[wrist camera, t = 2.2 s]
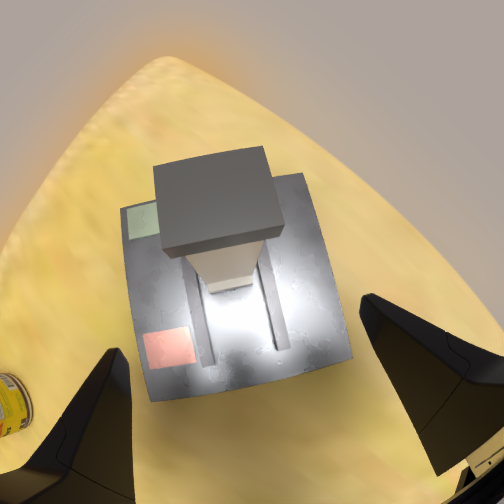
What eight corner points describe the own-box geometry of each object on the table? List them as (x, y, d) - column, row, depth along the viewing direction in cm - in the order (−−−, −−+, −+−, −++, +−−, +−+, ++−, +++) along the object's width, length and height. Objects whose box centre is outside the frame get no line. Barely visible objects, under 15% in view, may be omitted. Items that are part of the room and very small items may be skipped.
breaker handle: (258, 283, 19) (286, 227, 8) (203, 294, 19) (162, 252, 8) (248, 239, 20) (262, 143, 9) (195, 250, 19) (152, 163, 9)
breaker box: (343, 355, 20) (358, 359, 17) (158, 395, 19) (146, 405, 16) (297, 184, 23) (305, 166, 21) (128, 217, 22) (115, 202, 19)
